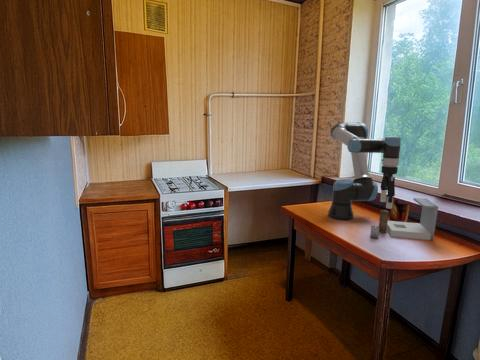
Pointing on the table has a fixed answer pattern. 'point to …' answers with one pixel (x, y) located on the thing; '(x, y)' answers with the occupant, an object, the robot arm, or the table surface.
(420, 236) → the socket block
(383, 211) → the walnut dowel
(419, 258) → the table surface
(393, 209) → the mug
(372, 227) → the cylinder
